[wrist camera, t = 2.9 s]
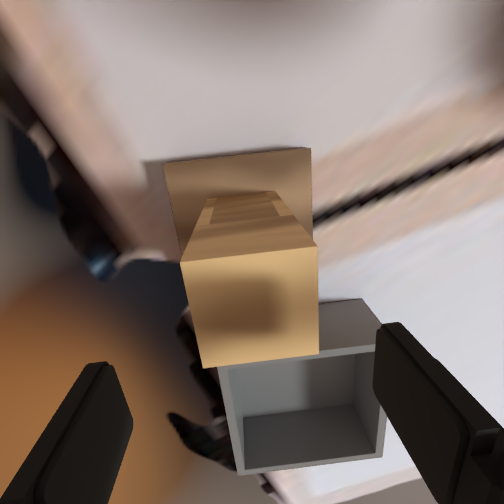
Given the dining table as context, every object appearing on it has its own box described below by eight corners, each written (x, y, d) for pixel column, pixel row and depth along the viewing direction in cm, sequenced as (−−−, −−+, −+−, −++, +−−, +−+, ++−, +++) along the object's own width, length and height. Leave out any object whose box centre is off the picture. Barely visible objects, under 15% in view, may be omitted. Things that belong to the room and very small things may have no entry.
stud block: (167, 162, 24) (131, 176, 16) (305, 147, 25) (343, 153, 16) (193, 284, 29) (175, 346, 20) (308, 270, 29) (339, 326, 21)
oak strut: (207, 198, 24) (179, 262, 12) (275, 191, 24) (317, 246, 12) (217, 261, 26) (202, 368, 14) (279, 253, 26) (318, 354, 14)
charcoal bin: (220, 315, 31) (216, 363, 24) (361, 298, 31) (395, 341, 24) (237, 415, 37) (238, 475, 30) (356, 400, 37) (382, 457, 30)
